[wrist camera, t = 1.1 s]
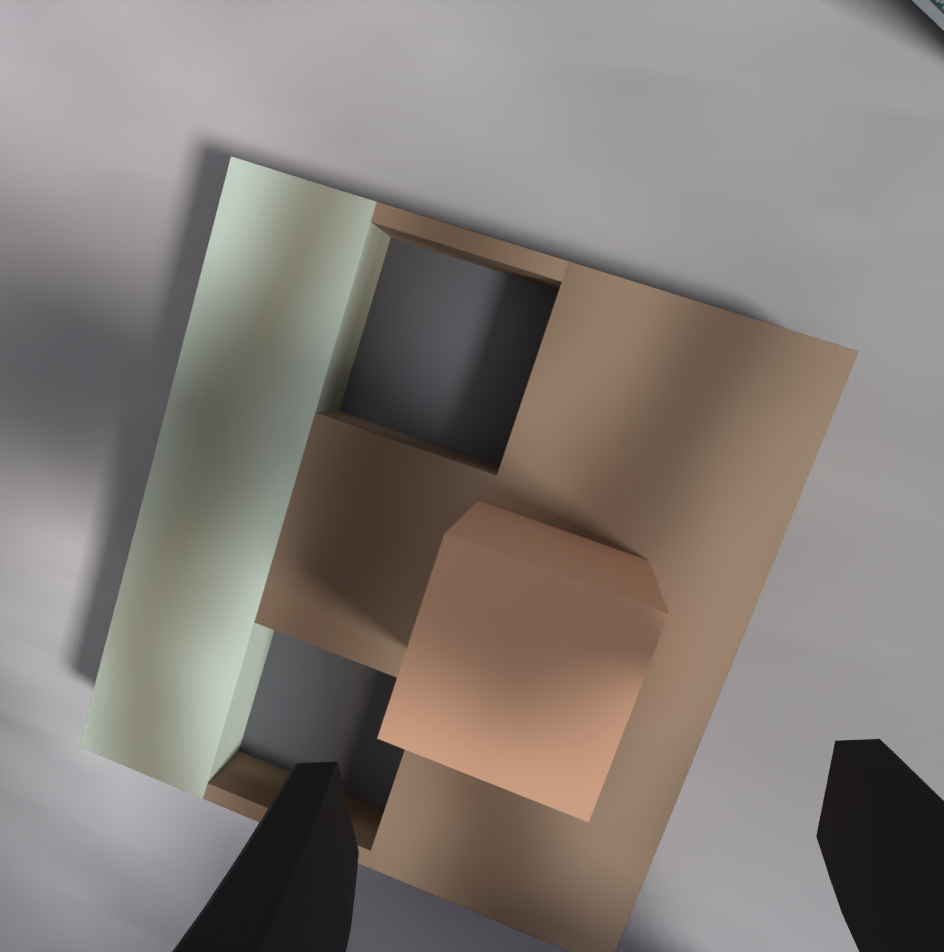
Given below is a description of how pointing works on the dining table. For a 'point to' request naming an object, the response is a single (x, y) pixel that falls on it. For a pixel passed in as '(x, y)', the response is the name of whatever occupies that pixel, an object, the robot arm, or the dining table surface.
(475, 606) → the terracotta cube
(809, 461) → the board
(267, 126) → the dining table surface
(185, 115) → the dining table surface
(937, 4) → the syrup box
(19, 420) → the dining table surface
